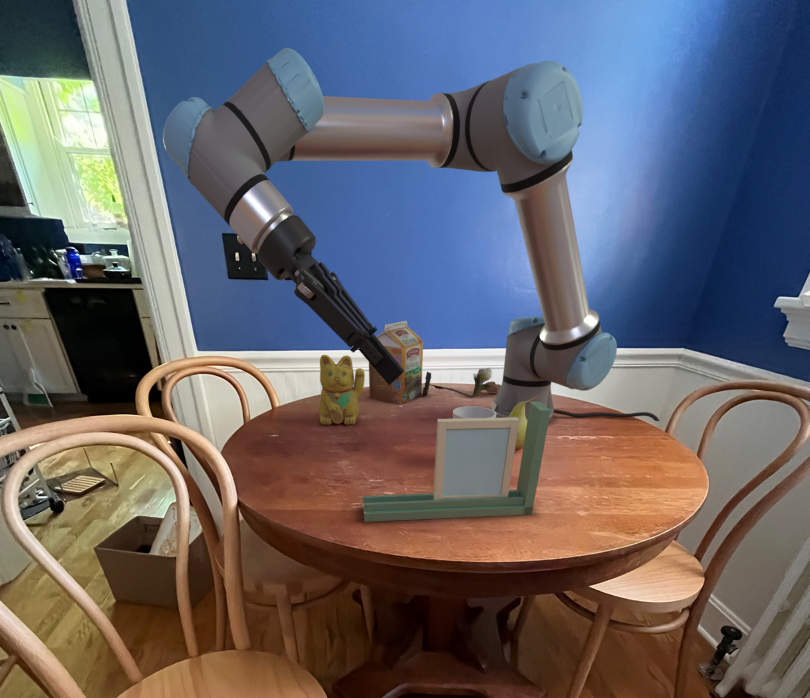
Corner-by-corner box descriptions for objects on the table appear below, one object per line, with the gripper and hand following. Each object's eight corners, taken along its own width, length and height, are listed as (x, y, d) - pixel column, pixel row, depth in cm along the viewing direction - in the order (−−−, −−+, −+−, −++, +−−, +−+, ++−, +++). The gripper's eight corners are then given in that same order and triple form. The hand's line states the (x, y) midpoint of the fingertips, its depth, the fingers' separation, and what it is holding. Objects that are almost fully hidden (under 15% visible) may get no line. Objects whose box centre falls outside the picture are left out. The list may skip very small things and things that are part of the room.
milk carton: (401, 403, 128) (402, 327, 118) (369, 397, 133) (367, 323, 123) (421, 395, 136) (423, 322, 126) (390, 389, 141) (390, 318, 130)
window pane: (505, 497, 78) (516, 417, 71) (507, 501, 77) (519, 419, 70) (433, 500, 77) (437, 418, 70) (434, 504, 76) (438, 421, 69)
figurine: (317, 425, 112) (311, 358, 104) (321, 414, 119) (316, 351, 111) (365, 425, 113) (363, 359, 105) (366, 414, 120) (364, 351, 112)
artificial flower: (420, 395, 140) (425, 359, 137) (496, 406, 141) (502, 371, 138) (421, 395, 131) (426, 356, 129) (501, 407, 132) (509, 369, 129)
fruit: (508, 440, 106) (516, 385, 99) (537, 450, 101) (547, 392, 95) (490, 448, 102) (496, 391, 95) (520, 458, 97) (529, 399, 91)
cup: (464, 472, 90) (468, 421, 85) (441, 458, 97) (444, 408, 91) (498, 465, 94) (505, 415, 88) (475, 451, 100) (479, 403, 94)
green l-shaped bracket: (523, 502, 81) (539, 401, 72) (532, 514, 77) (550, 410, 68) (363, 508, 78) (359, 404, 69) (364, 522, 74) (360, 414, 65)
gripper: (276, 256, 69) (386, 383, 76) (236, 258, 58) (369, 407, 66) (310, 213, 66) (421, 351, 73) (274, 208, 55) (409, 371, 62)
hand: (396, 377), depth 69 cm, fingers closed
